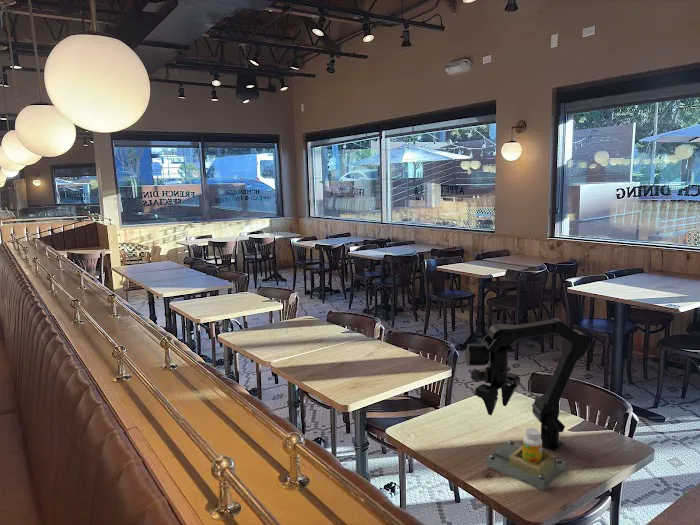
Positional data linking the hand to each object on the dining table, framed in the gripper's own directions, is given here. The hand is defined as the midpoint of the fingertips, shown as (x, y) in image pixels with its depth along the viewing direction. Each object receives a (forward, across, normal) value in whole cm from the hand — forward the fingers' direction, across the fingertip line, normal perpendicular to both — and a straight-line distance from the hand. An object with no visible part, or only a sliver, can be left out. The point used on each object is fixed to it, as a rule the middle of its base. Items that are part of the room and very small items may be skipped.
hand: (497, 410), depth 167 cm
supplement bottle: (+10, +6, +15) cm, 19 cm away
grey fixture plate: (+12, +6, +13) cm, 19 cm away
